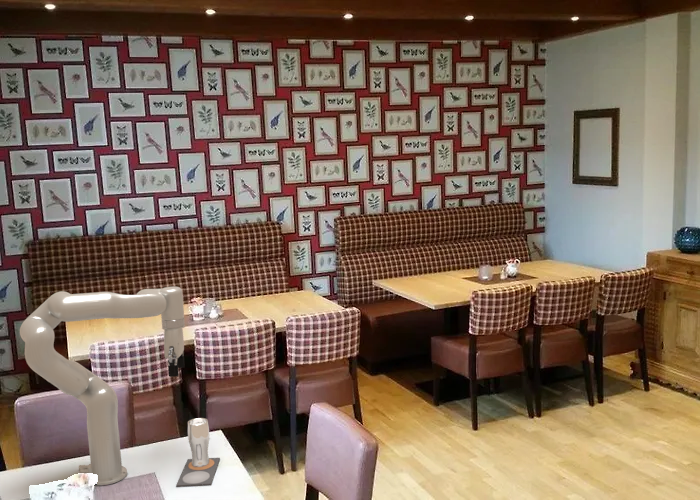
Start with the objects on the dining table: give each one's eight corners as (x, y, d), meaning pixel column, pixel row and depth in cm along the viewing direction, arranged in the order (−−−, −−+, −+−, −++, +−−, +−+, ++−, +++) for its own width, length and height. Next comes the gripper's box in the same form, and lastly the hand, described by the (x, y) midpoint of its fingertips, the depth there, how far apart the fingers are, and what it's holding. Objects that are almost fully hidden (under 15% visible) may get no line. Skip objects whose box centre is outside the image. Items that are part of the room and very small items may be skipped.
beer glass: (206, 469, 235) (203, 426, 233) (186, 468, 237) (183, 425, 234) (214, 460, 242) (211, 418, 240) (195, 459, 243) (192, 417, 241)
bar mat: (176, 487, 225) (176, 484, 225) (187, 460, 244) (187, 458, 244) (211, 485, 225) (210, 483, 225) (220, 459, 244) (219, 457, 244)
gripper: (167, 317, 250) (171, 364, 252) (156, 330, 233) (160, 380, 235) (189, 316, 250) (192, 363, 253) (179, 329, 233) (182, 379, 235)
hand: (176, 371), depth 244 cm, fingers open, 9 cm apart
